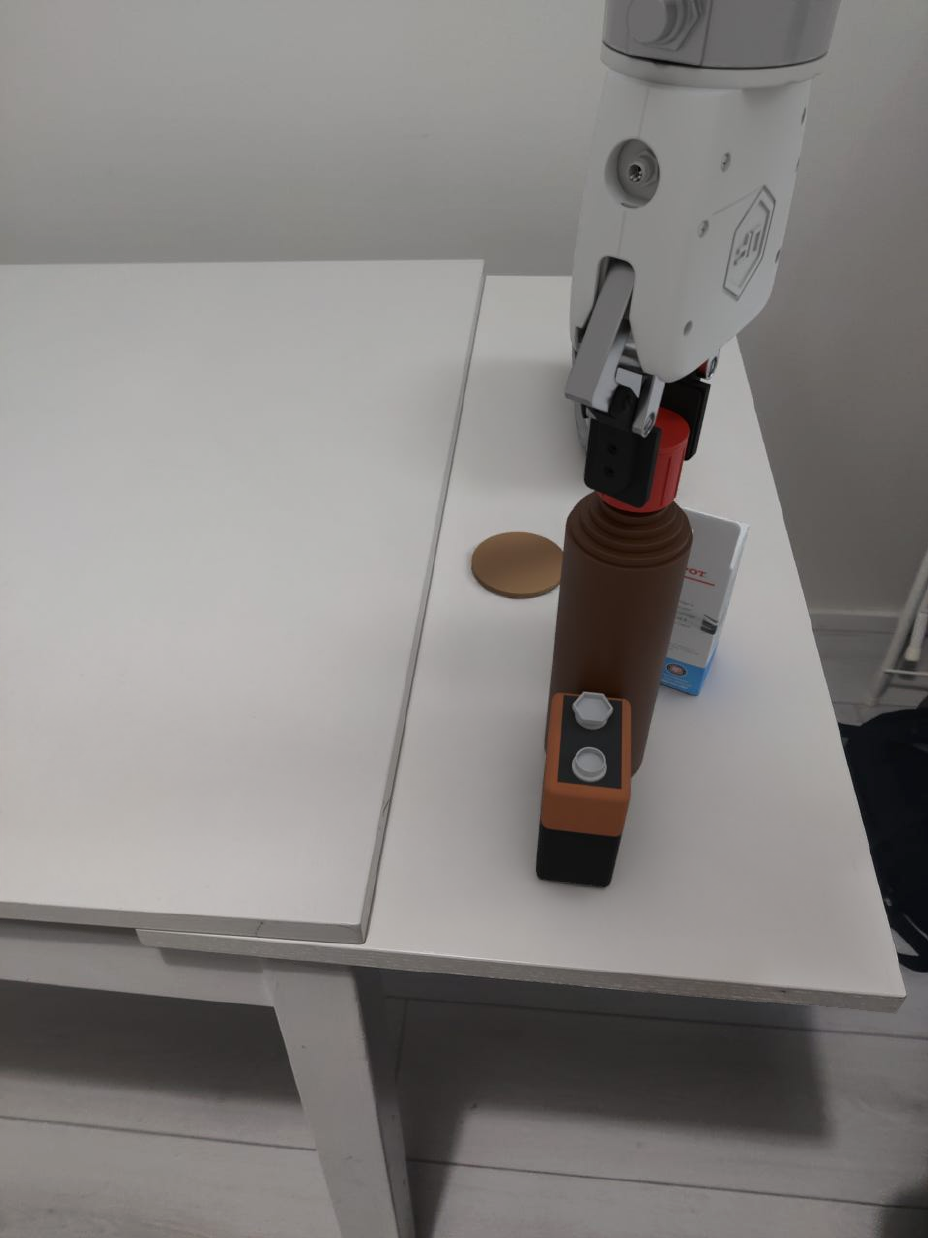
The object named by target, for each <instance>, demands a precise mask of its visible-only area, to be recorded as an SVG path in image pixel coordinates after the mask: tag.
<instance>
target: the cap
mask: <svg viewBox="0 0 928 1238" xmlns="http://www.w3.org/2000/svg"><path fill="white" fill-rule="evenodd" d="M654 426H656V427H659V428H661V429H663V430H662V435H661V441H660V446H659V452H658V457H657V462H656V468H655V473H654V479H653V484H652V489H651V495H650V499H649V501H648V502H647V503H646V504H645V505H644V506H643V507H641V508H636V507H634V506H631V505H629V504H626V503H624V502H622V501H619V500H617V499H614V498H612V497H609V496H607V495H605V494H602V493H600V492H597V493H598V495H599V496H600V497H601V498H602V499H603V500H604V501H605V502H606V503H608V504H609V505H611V506H613V507H616V508H618V509H621V510H625V511H630V512H638V513H643V512H652V511H657V510H661V509H663V508H665V507H667V506H668V505H669V504H671V503H672V502H673V500H674V501H675V499H676V498H677V494H678V489H679V486H680V481H681V476H682V471H683V467H684V462H685V461H684V457H685V452H686V447H687V443H688V438H689V432H690V430H689V426H688V423H687V422H686V421H685V420H684V418H682V417H681V416H680V415H679V414H677V413H675V412H673V411H671V410H668V409H665V408H662V407H659V409H658V413H657V417H656V421H655V424H654Z"/></svg>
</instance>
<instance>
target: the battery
mask: <svg viewBox="0 0 928 1238" xmlns="http://www.w3.org/2000/svg"><path fill="white" fill-rule="evenodd" d="M542 779H543V780H542V788H541V799H540V809H539V820H538V821H539V823H538V835H537V846H536V857H535V874H536V877H537V878H538V880H540V881H541V880H542V881H548V882H556V883H564V884H573V885H579V886H580V885H581V886H588V887H596V888H608V887H609V886H610V885H611V882H612V879H613V875H614V871H615V866H616V862H617V859H618V858H617V857H618V853H619V849H620V845H621V840H622V836H623V832H624V828H625V824H626V819H627V814H628V810H629V805H630V801H631V797H632V777H631V706H630V703H629V702H628V701H627V700H625V699H618V698H609V697H605V695H604V694H601V693H591V692H583V693H582V694H581V695H579V694H570V693H556V694H555V695H554V696H553V698H552V703H551V711H550V721H549V730H548V740H547V749H546V753H545V761H544V768H543V778H542Z"/></svg>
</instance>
